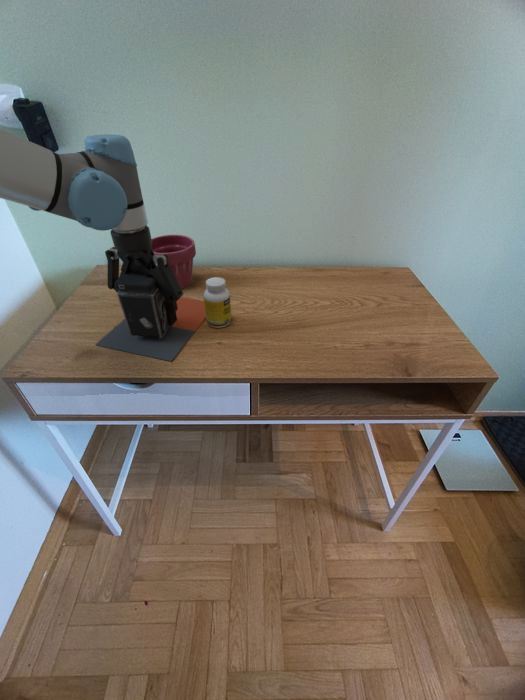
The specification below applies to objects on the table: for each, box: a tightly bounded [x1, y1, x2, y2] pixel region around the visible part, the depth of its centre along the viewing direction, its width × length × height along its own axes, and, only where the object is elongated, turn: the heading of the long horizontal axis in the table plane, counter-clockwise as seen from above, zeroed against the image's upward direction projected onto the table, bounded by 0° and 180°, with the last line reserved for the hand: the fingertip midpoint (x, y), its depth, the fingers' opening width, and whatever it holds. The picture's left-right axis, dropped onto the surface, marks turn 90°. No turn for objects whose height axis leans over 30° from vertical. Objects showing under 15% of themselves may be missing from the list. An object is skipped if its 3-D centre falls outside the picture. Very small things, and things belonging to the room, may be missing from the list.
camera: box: [115, 268, 170, 338], centre depth 75 cm, size 10×10×15 cm
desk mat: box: [95, 296, 206, 363], centre depth 83 cm, size 20×26×1 cm
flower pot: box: [151, 234, 197, 290], centre depth 96 cm, size 14×14×13 cm
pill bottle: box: [203, 276, 232, 329], centre depth 80 cm, size 6×6×12 cm
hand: (152, 318), depth 78 cm, fingers closed on camera, 11 cm apart
